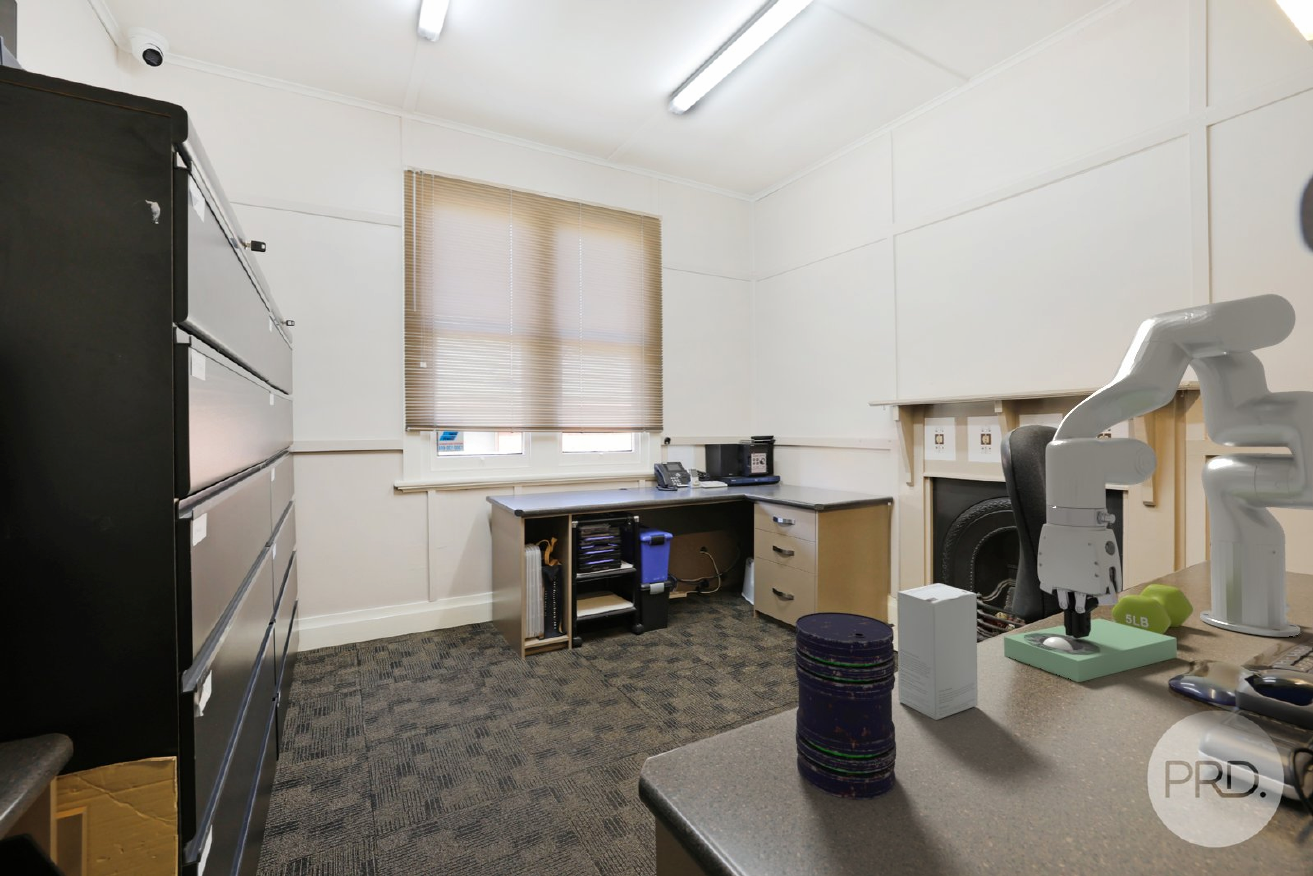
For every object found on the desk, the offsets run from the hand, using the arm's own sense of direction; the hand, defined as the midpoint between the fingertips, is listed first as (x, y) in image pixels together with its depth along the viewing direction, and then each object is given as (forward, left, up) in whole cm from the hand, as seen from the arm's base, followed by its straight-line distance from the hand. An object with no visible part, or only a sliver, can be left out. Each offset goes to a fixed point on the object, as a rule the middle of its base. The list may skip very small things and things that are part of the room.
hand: (1077, 635), depth 88 cm
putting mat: (-3, 0, -4) cm, 5 cm away
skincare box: (+33, +3, -4) cm, 33 cm away
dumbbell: (-27, -4, -4) cm, 27 cm away
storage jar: (+54, +10, -4) cm, 55 cm away
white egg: (+5, 0, -2) cm, 5 cm away
